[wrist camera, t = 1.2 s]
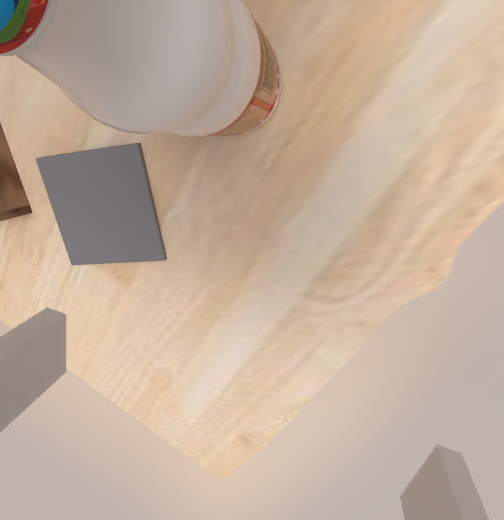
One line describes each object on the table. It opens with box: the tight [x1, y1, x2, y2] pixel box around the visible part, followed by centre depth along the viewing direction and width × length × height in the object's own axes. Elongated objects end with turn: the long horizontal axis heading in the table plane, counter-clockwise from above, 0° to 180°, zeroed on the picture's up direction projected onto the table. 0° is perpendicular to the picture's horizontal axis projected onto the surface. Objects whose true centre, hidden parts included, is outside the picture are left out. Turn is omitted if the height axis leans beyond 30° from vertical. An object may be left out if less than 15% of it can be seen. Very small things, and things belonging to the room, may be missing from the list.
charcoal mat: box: [36, 143, 167, 265], centre depth 41 cm, size 14×14×1 cm
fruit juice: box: [0, 0, 282, 137], centre depth 20 cm, size 9×9×28 cm
